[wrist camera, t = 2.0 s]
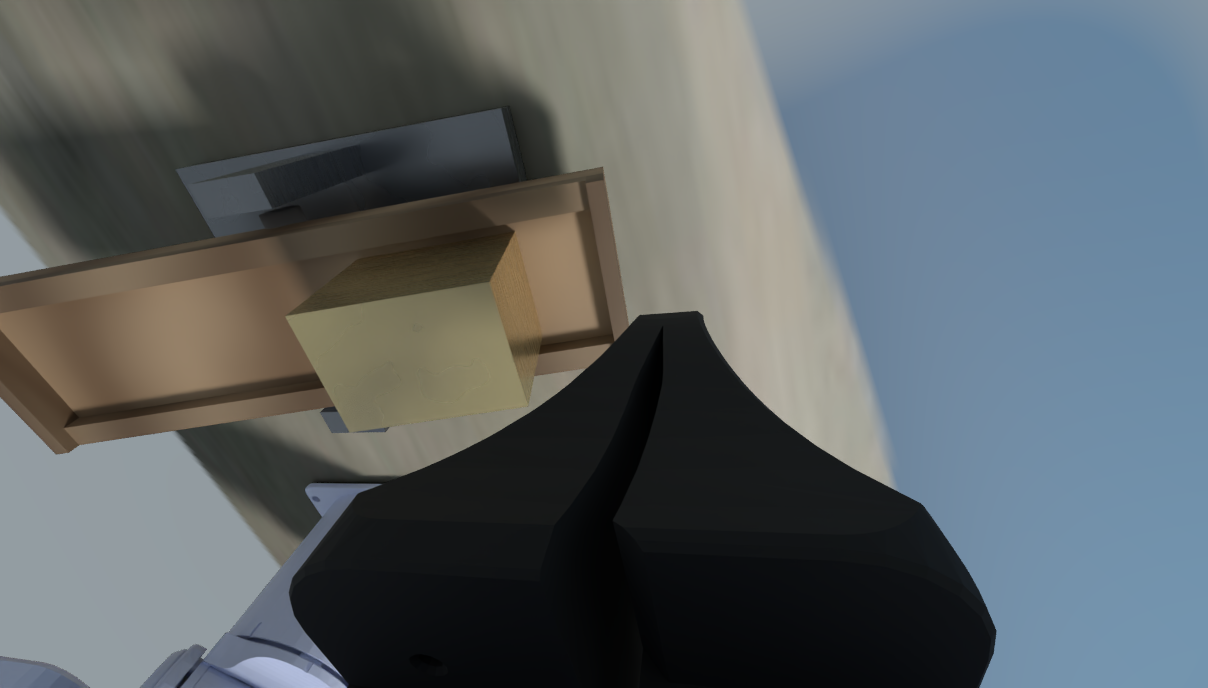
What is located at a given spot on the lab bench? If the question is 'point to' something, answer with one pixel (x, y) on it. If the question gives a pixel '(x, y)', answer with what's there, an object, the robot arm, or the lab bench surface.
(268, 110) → the lab bench surface
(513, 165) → the pivot stand
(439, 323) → the block
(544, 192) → the beam
